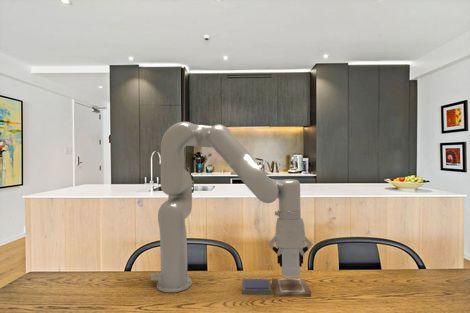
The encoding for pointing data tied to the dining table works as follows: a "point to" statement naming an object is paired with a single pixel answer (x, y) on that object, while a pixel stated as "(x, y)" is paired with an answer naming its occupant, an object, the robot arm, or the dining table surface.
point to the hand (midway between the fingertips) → (290, 264)
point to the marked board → (291, 287)
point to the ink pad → (256, 286)
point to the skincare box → (290, 263)
